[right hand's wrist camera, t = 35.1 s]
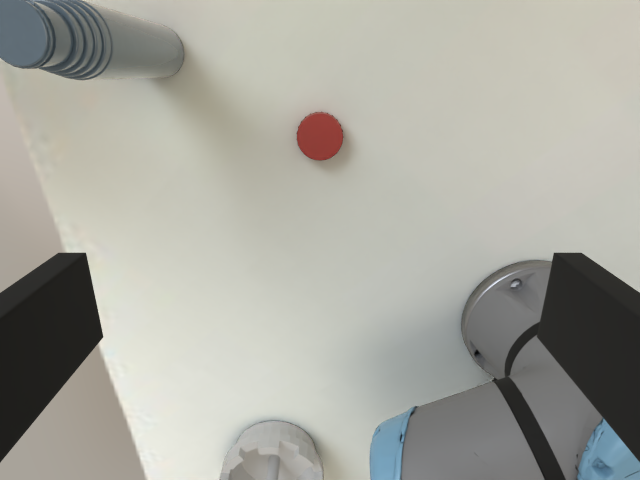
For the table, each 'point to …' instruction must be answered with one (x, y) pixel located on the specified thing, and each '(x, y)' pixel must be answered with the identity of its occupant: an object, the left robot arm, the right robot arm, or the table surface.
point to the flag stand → (273, 454)
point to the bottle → (86, 41)
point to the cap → (319, 136)
